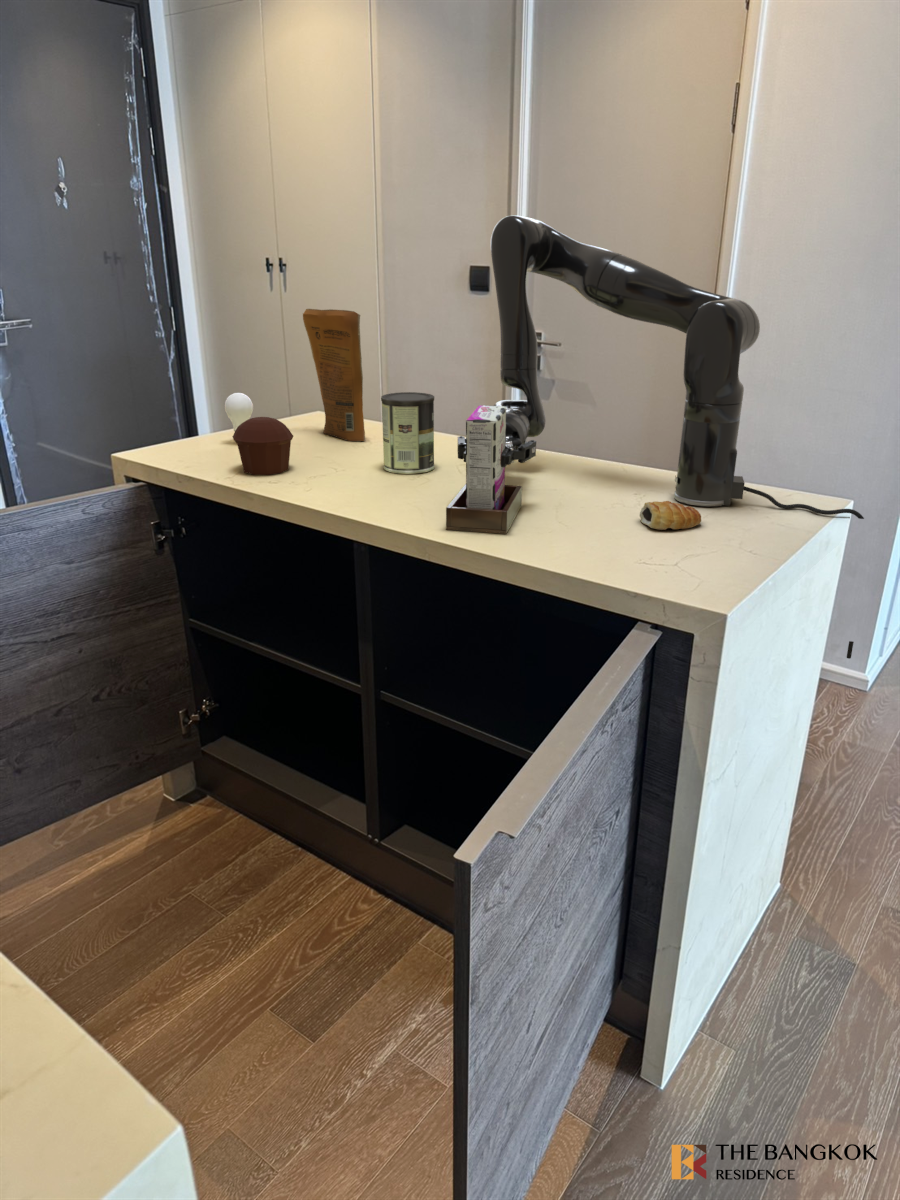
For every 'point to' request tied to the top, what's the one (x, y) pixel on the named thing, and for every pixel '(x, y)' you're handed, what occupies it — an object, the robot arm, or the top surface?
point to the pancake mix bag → (338, 369)
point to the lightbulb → (238, 408)
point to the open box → (484, 513)
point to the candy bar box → (485, 457)
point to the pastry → (669, 515)
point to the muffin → (263, 445)
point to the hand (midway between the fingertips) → (485, 459)
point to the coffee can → (408, 432)
